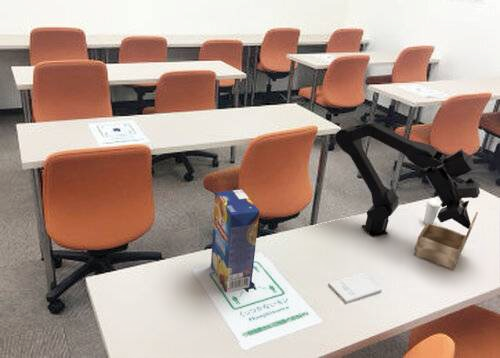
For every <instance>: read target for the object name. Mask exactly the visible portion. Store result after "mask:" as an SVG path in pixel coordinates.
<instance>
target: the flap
mask: <svg viewBox="0 0 500 358" xmlns="http://www.w3.org/2000/svg"><path fill="white" fill-rule="evenodd" d="M478 215H479V212H478V211H476V212H475V214H474V216H473V219H472V220H471V222H470V223H471V225H470V227H469V229H468V230H467V232H466V237H465V240H464V242H463V245H462V247H461V250H460V252H461V253H462V252H463V250H464V248H465V245H466V243H467V241H468V239H469V237H470V235H471V234H470V233H471V231H472V229H473V226H474V224H475V221H476V218H477V216H478Z"/></svg>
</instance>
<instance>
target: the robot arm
mask: <svg viewBox="0 0 500 358" xmlns="http://www.w3.org/2000/svg"><path fill="white" fill-rule="evenodd" d="M366 137H371V138H372V139H374V140H376V141H378V142H380V143H382V144H384V145H386V146H388V147H389V148H392V149H393V150H395V151H397V152H400V153H401V154H402V155H404V157H406V158H407V160H408V161H409V162H410V163H412V164H413V165H414V166H416V167H417V168H418V169H419V174H418V176H417V178H418V179H422V178H423V177H426V179H427V181H428V182H429V184H430V185H431V187H432V189H433V190H434V192H433V194H434V196H438V198H439V200H440V202H441V203H440V204H441V208H440V209H439V211H438V213H437V215H436V218H437V220H438V221H439V223H443V222H444V223H445V222H447V221H450V220H453V221H455V222H456V223H458V224H459V225H461V226H462V227H464V228H466V229H468V230H469V227H470V225H471V223H472V222H471V220H470V216H469V213H468V209H467V207H468V205H469V203H470V200H466V201H464V200H462V199H469V198H470V199H477V198H479V196H480V194H481V190H480V186H481V185H480V184H479V181H476V180H475V178H474V177H467V180H466V181H465V182H463V183H459V182H458V181H457V180H454V179H453V180H452V178H455V179H456V178H458V177H461V176H463V175H465V174H468V173H470V172H472V171H474V170H475V169H476V167H475V164H474V161H473V159H472V157H471V156H469V155H468V153H467V152H465V151H464V149H462V148H461V149H458V150H457V151H455V152H454V153H452V154H450V155H448V154H446V153H444V152H442V151H439V150H437V148H436V147H434V146H433V145H431V144H428V143H425V142H421V141H414V140H411V139H409V138H406V137H405V136H402V135H400V134H399V133H397V132H395V131H393V130H392V129H389V128H387V127H385V126H383V125H381V124H379V123H378V122H377V121H374V120H370V121H368V122H365V123H361V124H358V125H352V124H351V125H345V126H344V127H343V128H340V130H337V132H336V134H335V137H334V139H335V140H334V141H335V142H336V144H337V145H338V146H339V148H340V149H341V151H343V152H344V153H346V154H347V155H348V156H350V159H351V160H352V162H353V164H354V165H355V168H356V169H357V171H358V173H359V174H360V176H361V178H362V179H363V181H364V183H365V185H366V187H367V188H368V190H369V192H370V194H371V200H372V206H371V207H370V208H369V209H368V210H367V211H366V216H367V217H366V219H365V224H362V225H361V227H362V228H363V230H364V231H365V232H366V233H368V235H369V236H371V237H379V236H386V235H388V233H389V232H388V231H387V228H388V224H389V221H390V220H389V217H390V216H392V215H393V213H394V212H395V211H396V209H397V208H398V207H399V204H400V203H399V196H398V195H397V194H396V192H395V189H394V188H393V187H391V188H387V187H386V186H385V184H384V183H383V182H382V179H381V177H379V174H378V173H377V171H376V170H375V168H374V166H373V164H372V162H371V161H370V158H369V157H368V155H367V154H366V151H365V150H364V148H363V140H362V139H364V138H366Z"/></svg>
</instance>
